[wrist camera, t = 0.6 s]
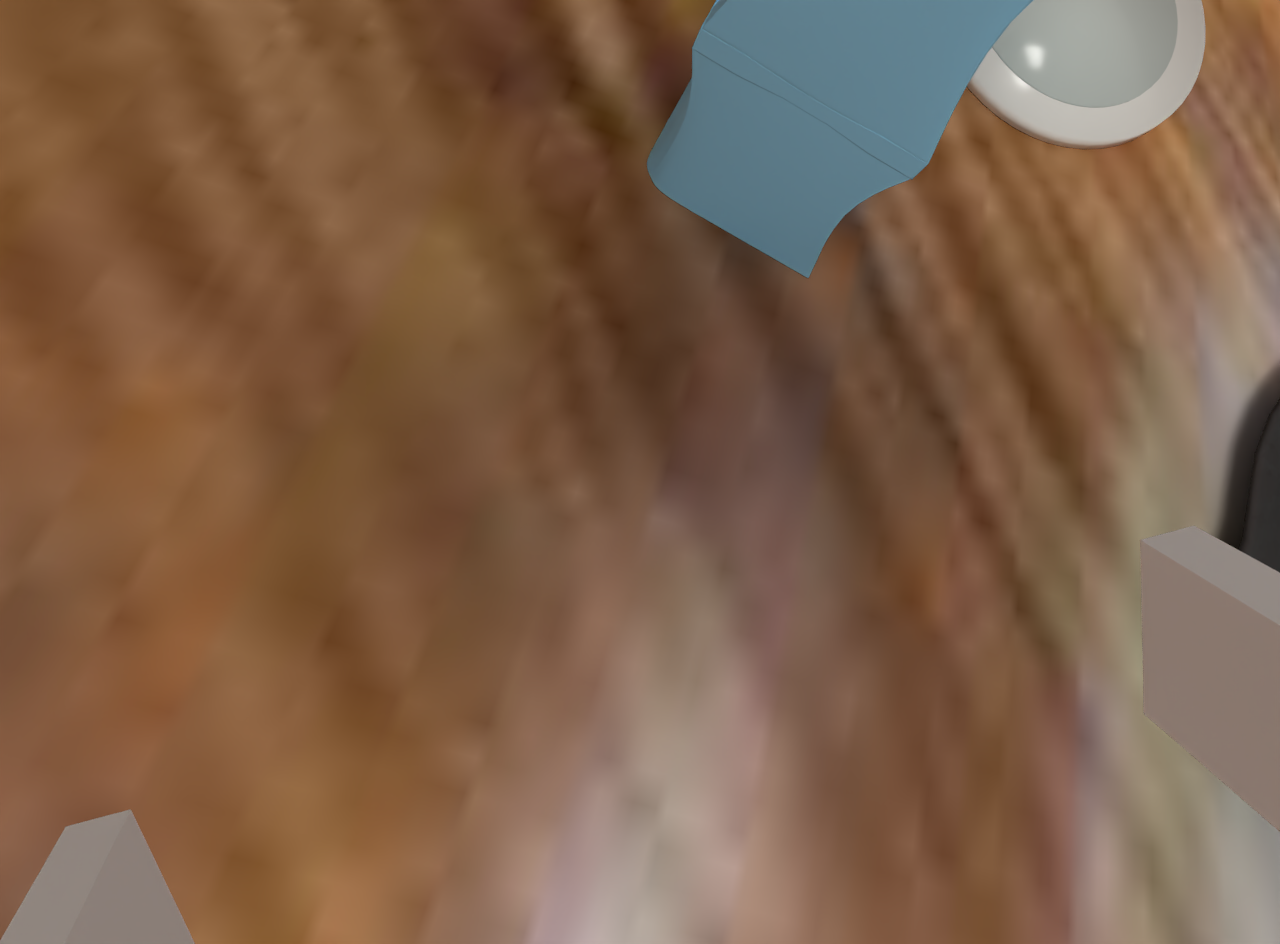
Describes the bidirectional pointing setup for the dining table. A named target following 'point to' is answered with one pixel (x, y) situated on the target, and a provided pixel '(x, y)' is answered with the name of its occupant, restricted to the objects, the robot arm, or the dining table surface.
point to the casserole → (1265, 498)
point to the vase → (816, 110)
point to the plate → (1093, 69)
